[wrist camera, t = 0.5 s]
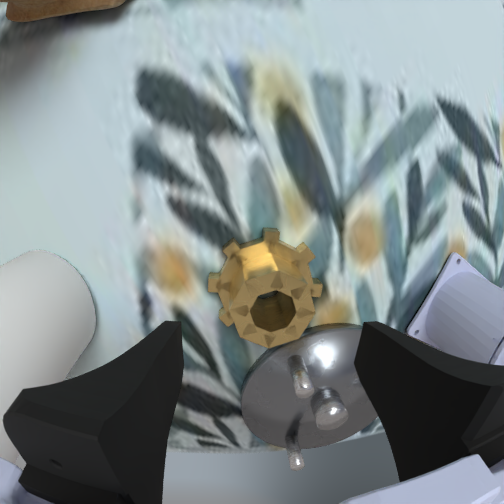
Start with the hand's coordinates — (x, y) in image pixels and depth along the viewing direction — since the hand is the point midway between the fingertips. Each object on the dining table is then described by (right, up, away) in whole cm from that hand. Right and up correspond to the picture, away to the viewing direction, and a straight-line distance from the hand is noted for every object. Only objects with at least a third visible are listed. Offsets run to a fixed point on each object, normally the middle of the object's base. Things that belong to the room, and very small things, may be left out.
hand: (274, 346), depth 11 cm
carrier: (+5, -9, +12) cm, 16 cm away
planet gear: (0, +2, +9) cm, 9 cm away
